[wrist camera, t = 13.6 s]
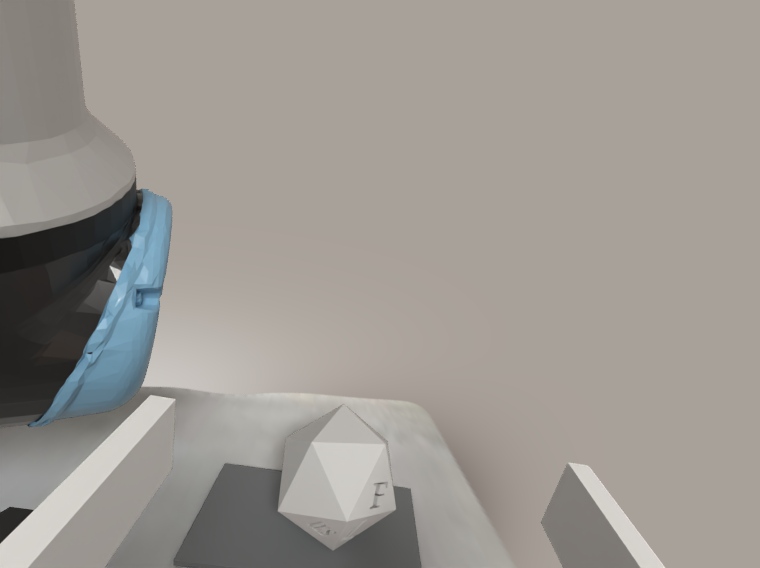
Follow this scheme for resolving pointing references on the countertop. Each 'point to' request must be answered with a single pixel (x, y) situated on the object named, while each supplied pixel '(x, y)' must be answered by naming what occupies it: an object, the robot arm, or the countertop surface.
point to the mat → (286, 531)
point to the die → (336, 478)
